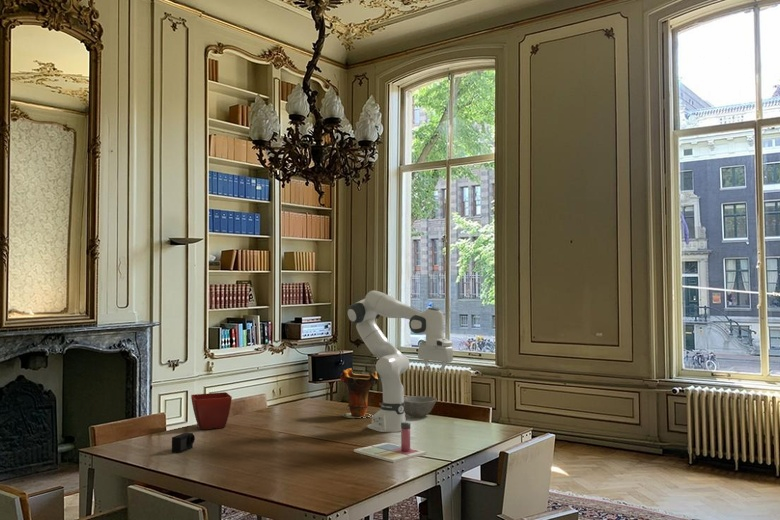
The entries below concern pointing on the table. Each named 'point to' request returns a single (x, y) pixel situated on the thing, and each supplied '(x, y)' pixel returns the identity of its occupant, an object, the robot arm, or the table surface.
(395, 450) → the picture board
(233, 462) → the table surface
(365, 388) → the decorative vase
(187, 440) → the digital camera
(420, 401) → the ceramic bowl
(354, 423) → the table surface
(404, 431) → the marker
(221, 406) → the plant pot
